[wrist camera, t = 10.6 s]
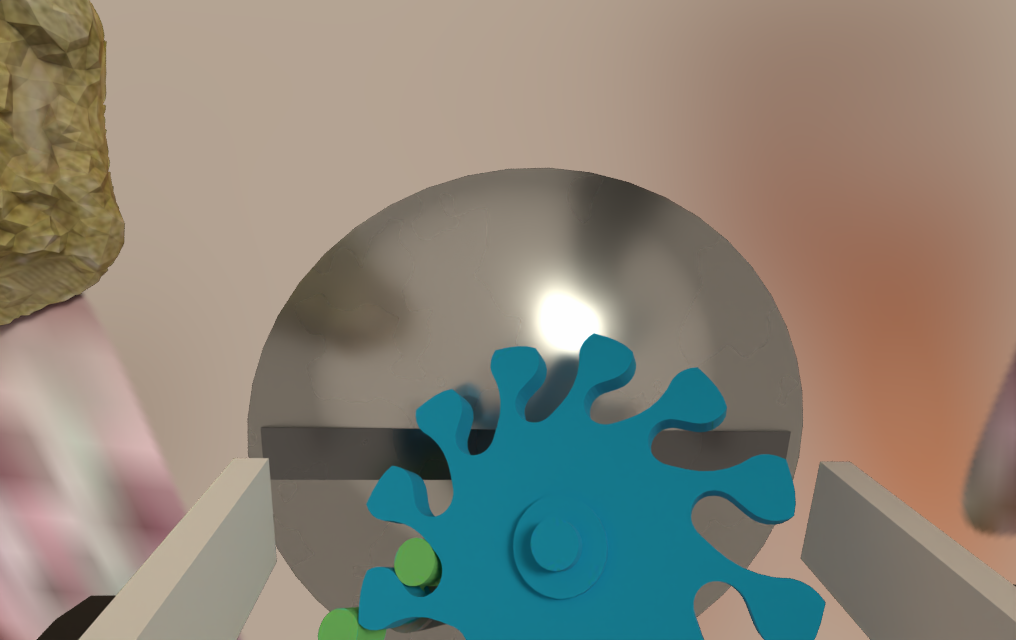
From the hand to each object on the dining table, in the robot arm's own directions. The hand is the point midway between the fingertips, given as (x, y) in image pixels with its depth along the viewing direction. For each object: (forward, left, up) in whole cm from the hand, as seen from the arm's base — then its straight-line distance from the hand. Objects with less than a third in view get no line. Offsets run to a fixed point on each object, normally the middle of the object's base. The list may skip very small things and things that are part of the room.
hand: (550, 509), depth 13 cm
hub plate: (0, 0, -4) cm, 4 cm away
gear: (+1, 0, -3) cm, 3 cm away
